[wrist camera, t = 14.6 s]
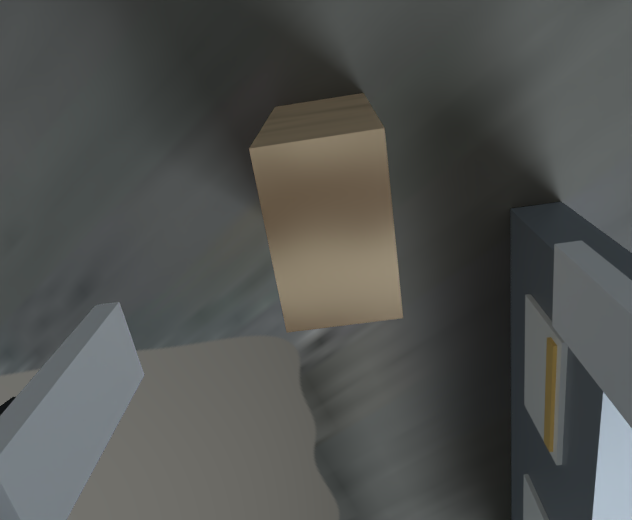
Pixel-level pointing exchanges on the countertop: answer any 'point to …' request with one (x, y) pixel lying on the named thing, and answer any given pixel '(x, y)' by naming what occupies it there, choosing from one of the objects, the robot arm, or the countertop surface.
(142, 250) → the countertop surface
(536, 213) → the panel
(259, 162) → the oak block
